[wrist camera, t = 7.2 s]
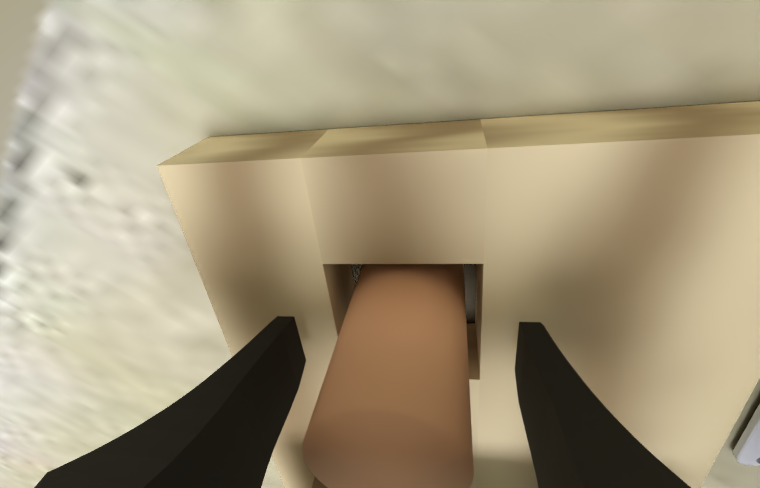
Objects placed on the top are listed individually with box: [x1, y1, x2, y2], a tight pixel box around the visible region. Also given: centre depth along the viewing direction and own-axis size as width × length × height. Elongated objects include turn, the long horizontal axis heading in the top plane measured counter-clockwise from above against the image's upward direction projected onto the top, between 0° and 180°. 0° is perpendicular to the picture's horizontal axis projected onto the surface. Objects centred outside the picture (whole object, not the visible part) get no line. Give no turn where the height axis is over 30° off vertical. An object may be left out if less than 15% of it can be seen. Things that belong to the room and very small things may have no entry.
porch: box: [157, 101, 760, 488], centre depth 14 cm, size 18×18×7 cm
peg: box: [302, 264, 474, 488], centre depth 13 cm, size 4×4×8 cm
